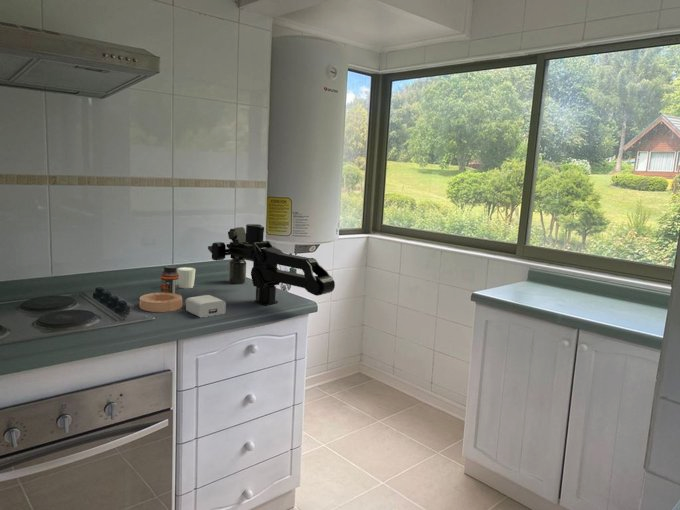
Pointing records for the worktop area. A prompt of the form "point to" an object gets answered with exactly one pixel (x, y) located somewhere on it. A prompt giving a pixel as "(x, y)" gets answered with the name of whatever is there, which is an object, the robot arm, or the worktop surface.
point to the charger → (205, 306)
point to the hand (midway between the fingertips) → (217, 246)
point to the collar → (160, 302)
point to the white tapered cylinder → (186, 277)
